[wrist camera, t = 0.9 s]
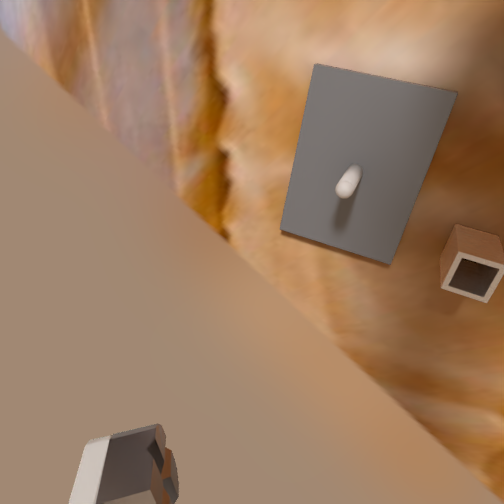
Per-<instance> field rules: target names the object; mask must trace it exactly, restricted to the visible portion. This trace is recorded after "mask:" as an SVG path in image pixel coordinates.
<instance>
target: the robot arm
mask: <svg viewBox="0 0 504 504" xmlns="http://www.w3.org/2000/svg"><path fill="white" fill-rule="evenodd" d="M165 442H166V435H165V433H164V430H163V428H162V426H161V425H160V424H154V425H150V426H146V427H141V428H137V429H133V430H129V431H124V432H121V433H116V434H113V435H110V436H106V437H102V438H97V439H93V440H90V441H89V442H88V443H87V445H86V446H85V448H84V452H83V455H82V458H81V462H80V465H79V469H78V472H77V476H76V479H75V482H74V486H73V489H72V493H71V496H70V500H69V503H68V504H174V503H175V502H176V500H177V499H178V497H179V494H178V493H179V488H178V487H179V483H178V475H177V467H176V463H175V459H174V456H173V453H172V451H171V450H170V449H168V448H166V447H165Z"/></svg>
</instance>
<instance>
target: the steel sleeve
mask: <svg viewBox="0 0 504 504" xmlns="http://www.w3.org/2000/svg"><path fill="white" fill-rule="evenodd" d="M462 258H464V259H468V260H471V261H474V262H478V264H475V263H472V262H469V261H465V260H462ZM503 275H504V251H503V248H502V245H501V242H500V239H499V236H498V235H494V234H491V233H487V232H483V231H480V230H476V229H473V228H469V227H466V226H462V225H459V224H455V226H454V228H453V230H452V232H451V234H450V236H449V239H448V241H447V243H446V245H445V247H444V249H443V251H442V254H441V256H440V284H441V289H444V290H448V291H451V292H454V293H457V294H460V295H463V296H466V297H469V298H472V299H475V300H478V301H481V302H485V303H487V302H488V301H489V299H490V297H491V296H492V294H493V292H494V290H495V289H496V287H497V285H498V283H499V282H500V280H501V278H502V277H503Z"/></svg>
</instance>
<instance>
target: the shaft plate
mask: <svg viewBox="0 0 504 504" xmlns="http://www.w3.org/2000/svg"><path fill="white" fill-rule="evenodd" d="M457 95H458V93H457V92H455V91H450V90H445V89H440V88H435V87H430V86H425V85H420V84H415V83H411V82H406V81H401V80H396V79H391V78H386V77H381V76H376V75H371V74H366V73H361V72H356V71H351V70H347V69H342V68H337V67H332V66H327V65H322V64H314V68H313V72H312V77H311V82H310V87H309V92H308V96H307V101H306V106H305V111H304V115H303V120H302V125H301V130H300V135H299V139H298V144H297V149H296V154H295V158H294V163H293V168H292V173H291V178H290V182H289V187H288V192H287V197H286V201H285V206H284V211H283V216H282V221H281V225H280V230H284V231H287V232H290V233H293V234H296V235H299V236H302V237H305V238H308V239H312V240H315V241H318V242H321V243H324V244H327V245H330V246H333V247H337V248H340V249H343V250H346V251H349V252H352V253H355V254H358V255H362V256H365V257H368V258H371V259H374V260H377V261H380V262H383V263H387V264H390V265H391V262H392V260H393V257H394V255H395V252H396V250H397V247H398V244H399V242H400V239H401V237H402V234H403V232H404V229H405V227H406V224H407V222H408V219H409V217H410V214H411V211H412V209H413V206H414V204H415V201H416V199H417V196H418V194H419V191H420V189H421V186H422V183H423V181H424V178H425V176H426V173H427V171H428V168H429V166H430V163H431V161H432V158H433V156H434V153H435V150H436V148H437V145H438V143H439V140H440V138H441V135H442V133H443V130H444V128H445V125H446V123H447V120H448V117H449V115H450V112H451V110H452V107H453V105H454V102H455V100H456V97H457Z"/></svg>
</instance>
